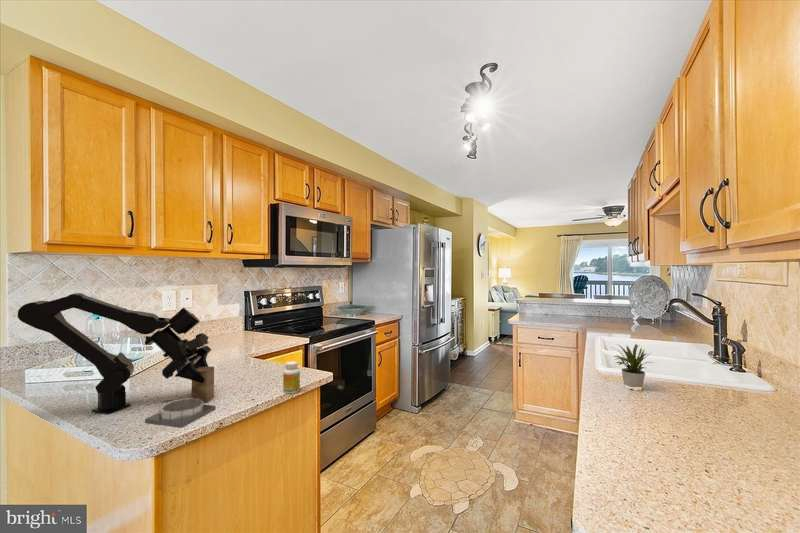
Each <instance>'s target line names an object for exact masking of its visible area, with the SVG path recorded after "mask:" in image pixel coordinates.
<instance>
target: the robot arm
mask: <svg viewBox="0 0 800 533" xmlns="http://www.w3.org/2000/svg"><path fill="white" fill-rule="evenodd" d="M70 309H77V310H80V311H83V312H86V313H88V314H89V313H90V314H93V315H95V316H98V317H101V318H105V319H108V320H111V321H114V322H118V323H120V324H122V325H124V326H125V327H127V328H129V329H130V330H133V331H135V332H137V333H139V334H141V335H147V336H145V340H144V345H145V346H152V345H153V344H155V345H156V346H157V347H158V348H159V349H160V350H161V351H162V352H164V354H162V357H164V358H169V359H171V361H170V362H169V363H168V364H167V365H166V366H165V367H164V368H163V369H162V370H161V375H162V376H163V377H164V378H165V379H166V380H168V379H169V378H172V377H173V376H174V377H175V378H177V377H178V378H181V379H187V380H190V381H192V380H193V381H197V382H200V383H203V382H204V381H205V380H204V378H203V377H202V376H201V374H200V373H199V372H198V371H197V370H196V368H198V367H210V366H209V364H208V362H207V356H208V354H209V353H210V352H211V351H212V348H210V346H208V344H209V341H208V339H209V336H207V334H206V333H203V332H200V333H199V334H196V335H195V337H194V338H193V339H191V340H188V339H186V338H185V339H182V338H181V337H180V336H179V335H182V334H184V335H186V334H187V333H188V332H190V331H191V330H192V329H193V328H195V326H196V325H198V324H200V323H201V321H200V319H199V318H198V317H197V316H196V315H195V314H194V313H193V312H190V311H189V310H187V309H186V307H182V308H181V309H179V311H178V312H177V313H176V314H174V315H173V316H171V318H170V317H169V318H167V317H159V316H158V315H157V314H155V313H151V312H147V311H139V310H131V309H127V308H124V307H121V306H118V305H115V304H112V303H109V302H107V301H103V300H100V299H97V298H94V297H90V296H88V295H86V294H84V293H81V292H75V293H71V294H68V295H67V296H64V297H60V298H57V299H53V300H49V301H48V300H37V301H33V302H28V303H25V304H23V305H22V306H21V307H20V308H19V309H18V311H17V319H18V320H19V321H20V322H21V323H24V324H25V325H28V326H29V327H31V328H34V329H36V330H38V331H43V332H46V333H49V334H51V335H52V336H53V337H55V338H57V339H58V340H59V341H61V343H64V344H65V345H66V346H67V347H68V348H70V349H71V350H73V351H74V352H76V353H77V354H78V355H80V356H82V357H83V358H84V359H86V360H87V361H89V363H91V364H93V365H94V366H95V368H96V369H97V372H98V373H99V375H100V376H101V377H102V379H101V380H100V381H99V383H97V384H96V385H95V387H94V388H95V391H96V392H97V407H95V408H94V409H92V410H91V412H93V413H100V414H101V413H102V414H111V413H114V412H117V411H119V410H122V409H125V408H127V407H129V406H131V403H129V402H127V400H126V399H127V392H126V386H125V385H124V384H125V383H127V382H128V380H129V379H130V378H131V376H133V373H134V371H135V365H134V364H133V362H132V361H133V359H131V358H128V357H127V356H126V355H125V354H124V353H123V352H121V351H120V352H119V353H118V354H116V355H115V354H113V353H110V352H108V351H107V350H106V349H104V348H103V347H102V346H100V345H99V344H97V343H96V342H95V341H93V340H92V339H91V338H89V337H88V336H87V335H86V334H84V333H83V332H81V331H80V330H79V329H77V328H76V327H74V325H72V324H70V323H69V322H68V321H67V319H65V316H64V315H63V313H62V312H64V311H67V310H70ZM161 329H162V330H161ZM156 330H157V331H156ZM155 331H156V332H155ZM153 332H154V333H153ZM175 332H176V333H175ZM149 334H152V335H150V336H148V335H149ZM175 372H176V374H175V375H174V373H175Z"/></svg>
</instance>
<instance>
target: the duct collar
mask: <svg viewBox="0 0 800 533" xmlns="http://www.w3.org/2000/svg"><path fill="white" fill-rule="evenodd" d="M216 407H217V406H216V405H212V404H205V403H204V401H203V400H201V399H198V398H192V397H188V398H187V397H186V398H180V399H175V400H172V401H169V402H167V403H164V404H162V405H161V406H160V407H159V409H158V412H157V413H155V414H152V415H150V416H148V417H146V418H145V419H144V423H146V424H152V425H153V424H154V425H159V424H160V426H168V427H175V428H183V427H186V426H187V425H189V424H191V423H193V422H195V421H197V420H198V419H200V418H202V417H204V416H205V415H207V414H209V413H211V412H213V411H215V410H216Z"/></svg>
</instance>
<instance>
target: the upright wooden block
mask: <svg viewBox="0 0 800 533" xmlns="http://www.w3.org/2000/svg"><path fill="white" fill-rule="evenodd" d="M196 370H197V371H198V372H199V373H200V374H201V376H202V377H203V378H204V380H205V381H204V382H203V383H200V382H197V381H193V380H191V398H198V399H201V400H203V401H204V404H207V403H208V402H210V401H211V400H212V399H213V398H215V366H209V367H198V368H196Z"/></svg>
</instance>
